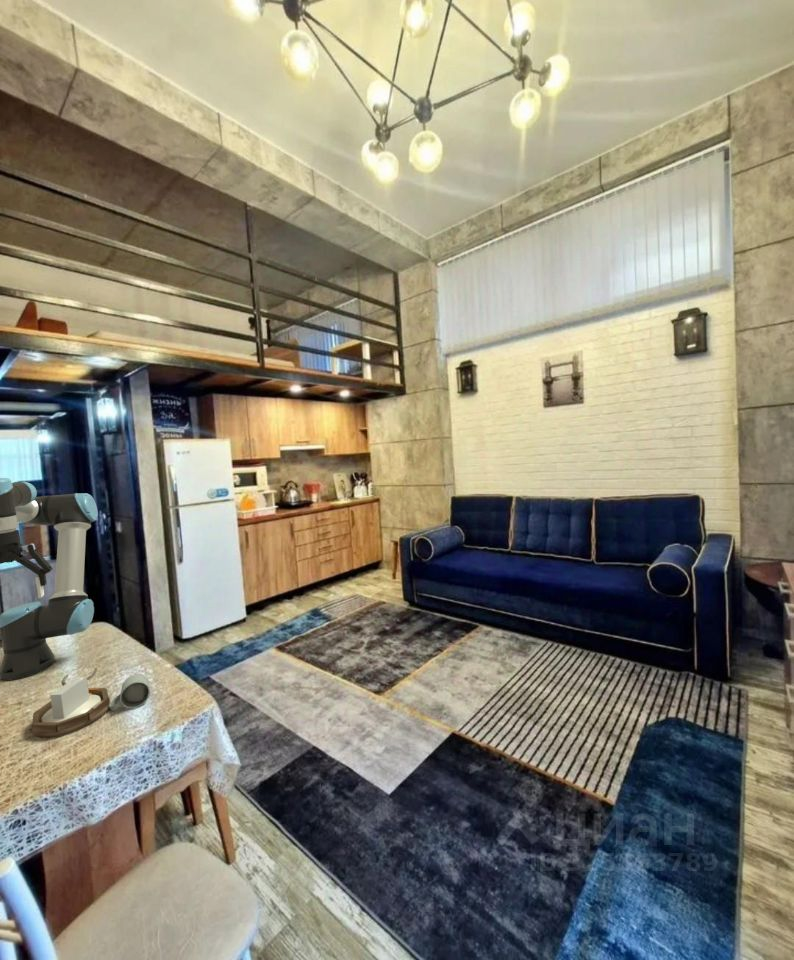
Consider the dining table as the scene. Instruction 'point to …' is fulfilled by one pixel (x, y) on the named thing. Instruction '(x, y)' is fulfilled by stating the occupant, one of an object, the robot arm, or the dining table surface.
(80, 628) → the robot arm
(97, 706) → the dial housing
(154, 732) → the dining table surface
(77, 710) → the dial
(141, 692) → the ceramic mug
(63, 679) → the pliers
